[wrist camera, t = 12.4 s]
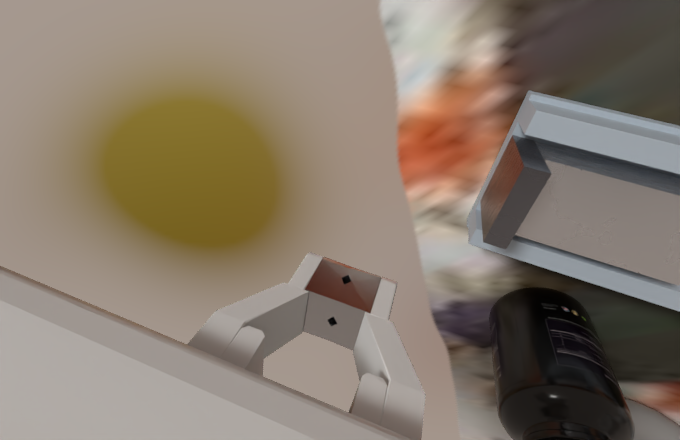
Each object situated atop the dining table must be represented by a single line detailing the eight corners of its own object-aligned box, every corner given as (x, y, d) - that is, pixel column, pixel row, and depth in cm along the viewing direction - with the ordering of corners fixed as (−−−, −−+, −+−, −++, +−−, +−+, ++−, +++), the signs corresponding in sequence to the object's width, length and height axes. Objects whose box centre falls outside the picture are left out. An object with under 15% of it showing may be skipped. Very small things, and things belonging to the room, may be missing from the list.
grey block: (713, 187, 17) (786, 238, 13) (652, 252, 19) (698, 310, 16) (512, 135, 19) (524, 166, 15) (480, 200, 21) (483, 242, 17)
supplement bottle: (547, 358, 28) (590, 542, 18) (472, 321, 28) (475, 481, 18) (612, 311, 24) (713, 516, 14) (523, 268, 24) (560, 438, 14)
